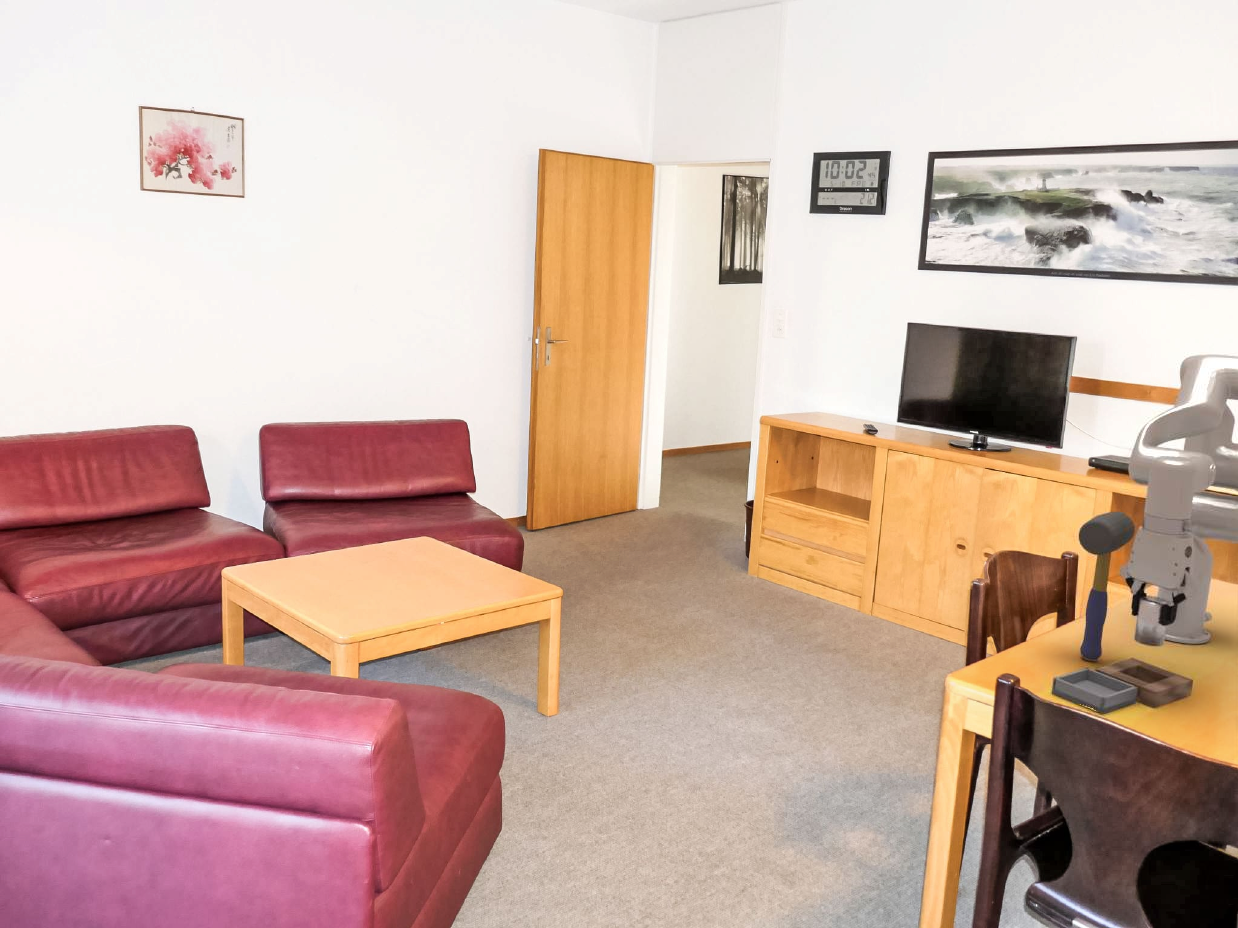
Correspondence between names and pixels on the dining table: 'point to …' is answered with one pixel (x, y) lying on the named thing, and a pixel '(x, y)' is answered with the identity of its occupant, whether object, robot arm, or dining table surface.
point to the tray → (1094, 690)
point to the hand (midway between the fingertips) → (1152, 618)
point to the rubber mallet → (1101, 572)
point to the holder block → (1149, 681)
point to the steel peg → (1150, 621)
